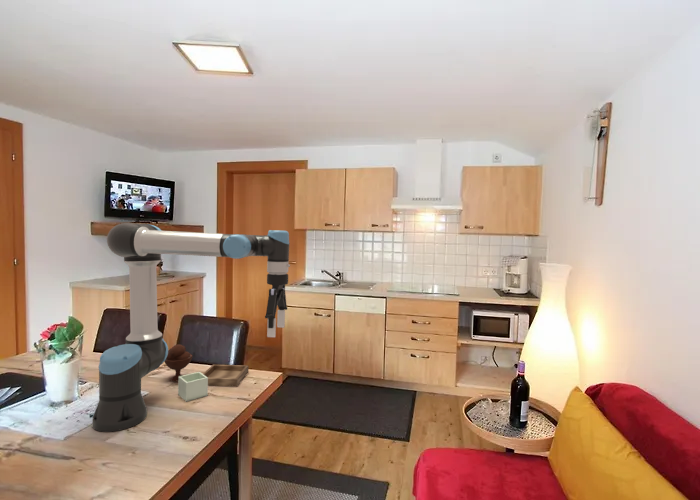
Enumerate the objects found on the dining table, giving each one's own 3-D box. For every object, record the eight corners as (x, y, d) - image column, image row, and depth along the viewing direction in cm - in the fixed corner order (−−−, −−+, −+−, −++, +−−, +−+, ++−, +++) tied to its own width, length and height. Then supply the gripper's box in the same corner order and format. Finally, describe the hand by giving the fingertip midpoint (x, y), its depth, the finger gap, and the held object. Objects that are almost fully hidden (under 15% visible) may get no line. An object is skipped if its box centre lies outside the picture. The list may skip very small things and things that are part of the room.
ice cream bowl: (197, 377, 157) (198, 343, 156) (172, 386, 147) (173, 349, 147) (182, 372, 162) (183, 338, 162) (158, 380, 153) (158, 344, 152)
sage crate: (186, 401, 134) (186, 383, 134) (178, 394, 140) (178, 376, 139) (207, 395, 140) (207, 377, 139) (199, 389, 145) (199, 371, 145)
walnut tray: (197, 385, 149) (197, 378, 149) (212, 371, 165) (213, 364, 165) (236, 386, 149) (237, 379, 148) (248, 372, 164) (248, 365, 164)
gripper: (279, 277, 119) (277, 342, 119) (295, 270, 143) (293, 324, 144) (256, 276, 119) (255, 341, 120) (276, 269, 144) (275, 323, 145)
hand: (276, 331), depth 132 cm, fingers open, 13 cm apart
